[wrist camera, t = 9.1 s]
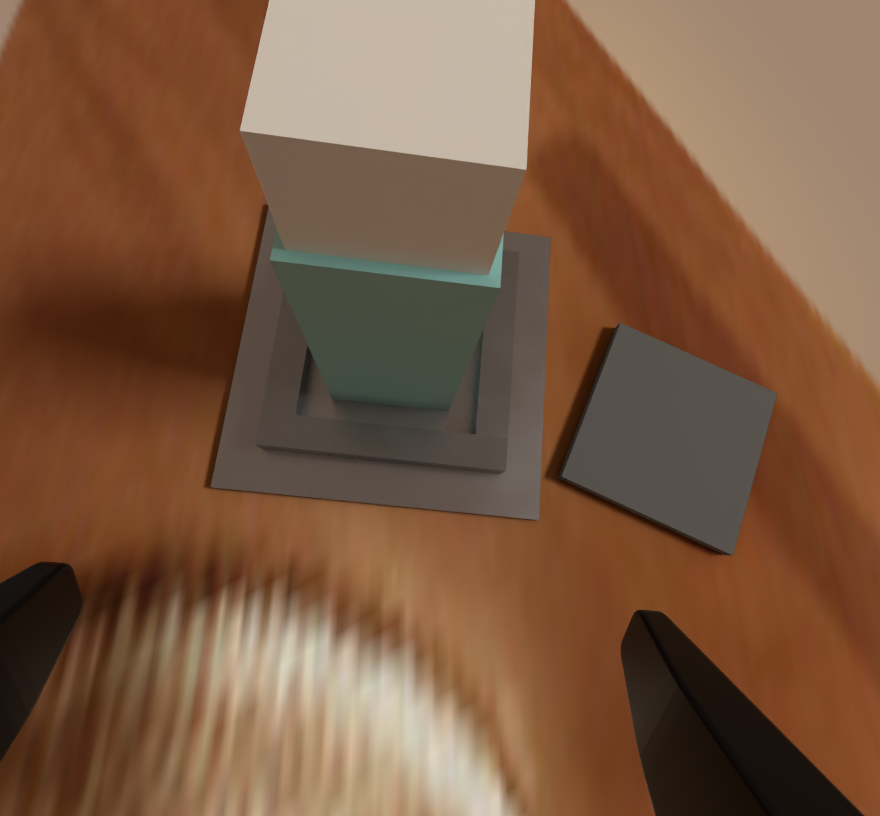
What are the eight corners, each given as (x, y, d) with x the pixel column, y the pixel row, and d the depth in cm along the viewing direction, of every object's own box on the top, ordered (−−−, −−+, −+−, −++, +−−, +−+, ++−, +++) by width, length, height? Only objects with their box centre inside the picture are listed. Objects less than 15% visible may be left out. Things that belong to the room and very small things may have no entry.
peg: (448, 411, 20) (542, 186, 7) (331, 398, 19) (218, 143, 7) (457, 305, 21) (552, -48, 8) (347, 291, 21) (273, -93, 8)
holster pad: (724, 555, 20) (732, 555, 19) (557, 477, 20) (561, 476, 19) (768, 396, 21) (776, 393, 21) (615, 327, 22) (620, 322, 21)
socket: (536, 520, 19) (546, 518, 18) (213, 487, 19) (200, 484, 17) (548, 241, 22) (557, 223, 21) (271, 204, 22) (264, 183, 20)
